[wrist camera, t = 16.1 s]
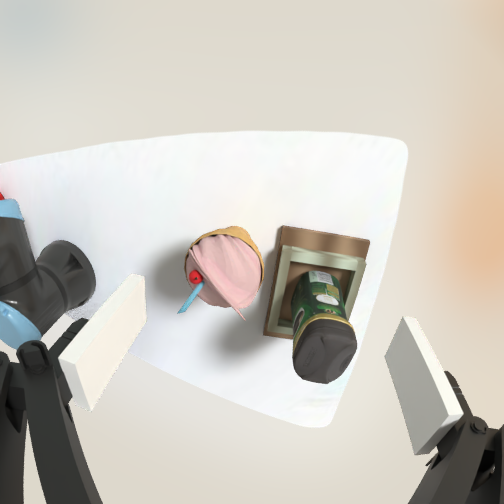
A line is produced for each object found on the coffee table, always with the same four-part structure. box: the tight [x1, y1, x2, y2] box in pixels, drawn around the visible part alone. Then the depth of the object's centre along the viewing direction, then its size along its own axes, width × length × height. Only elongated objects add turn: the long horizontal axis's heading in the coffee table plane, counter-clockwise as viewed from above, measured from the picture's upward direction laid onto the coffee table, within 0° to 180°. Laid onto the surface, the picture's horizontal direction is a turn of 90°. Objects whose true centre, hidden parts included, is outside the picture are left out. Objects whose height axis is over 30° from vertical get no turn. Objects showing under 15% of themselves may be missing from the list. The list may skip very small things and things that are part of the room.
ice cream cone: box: [177, 226, 264, 321], centre depth 44 cm, size 11×11×20 cm
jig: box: [263, 225, 370, 339], centre depth 54 cm, size 15×22×4 cm
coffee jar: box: [291, 271, 357, 384], centre depth 46 cm, size 10×8×19 cm
